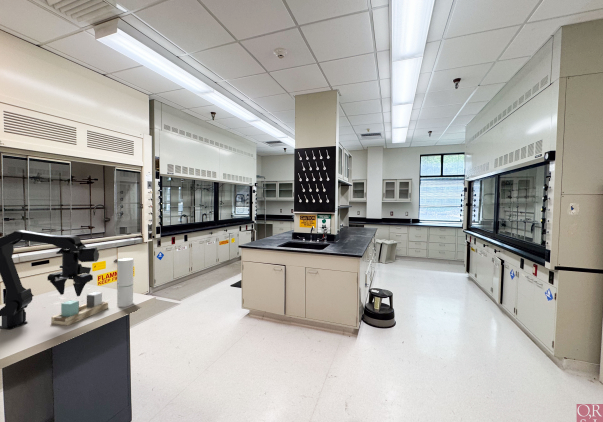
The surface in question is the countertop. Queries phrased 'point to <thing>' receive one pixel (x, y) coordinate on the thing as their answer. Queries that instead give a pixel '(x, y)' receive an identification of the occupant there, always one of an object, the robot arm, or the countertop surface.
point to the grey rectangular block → (94, 299)
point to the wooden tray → (81, 315)
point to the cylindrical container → (125, 282)
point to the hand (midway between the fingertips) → (70, 295)
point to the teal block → (69, 308)
